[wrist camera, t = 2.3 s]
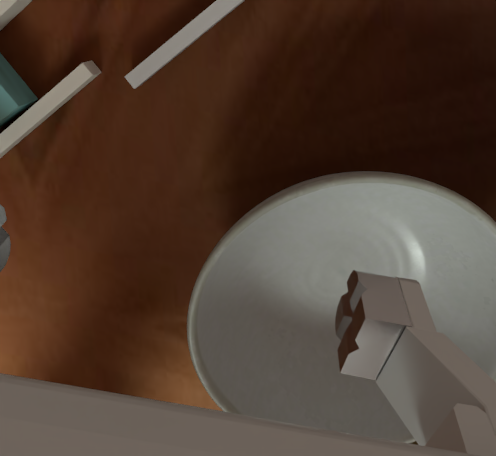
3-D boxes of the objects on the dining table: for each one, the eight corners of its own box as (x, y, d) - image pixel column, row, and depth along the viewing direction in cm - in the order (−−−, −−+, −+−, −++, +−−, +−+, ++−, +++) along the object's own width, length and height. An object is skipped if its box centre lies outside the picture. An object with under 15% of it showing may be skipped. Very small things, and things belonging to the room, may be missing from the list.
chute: (-8, 164, 43) (-22, 172, 41) (-84, 87, 40) (-104, 91, 38) (101, 72, 40) (92, 75, 38) (27, -19, 37) (12, -22, 35)
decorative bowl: (518, 219, 46) (605, 283, 35) (360, 398, 55) (388, 492, 44) (289, 78, 40) (305, 100, 29) (157, 303, 50) (131, 384, 39)
